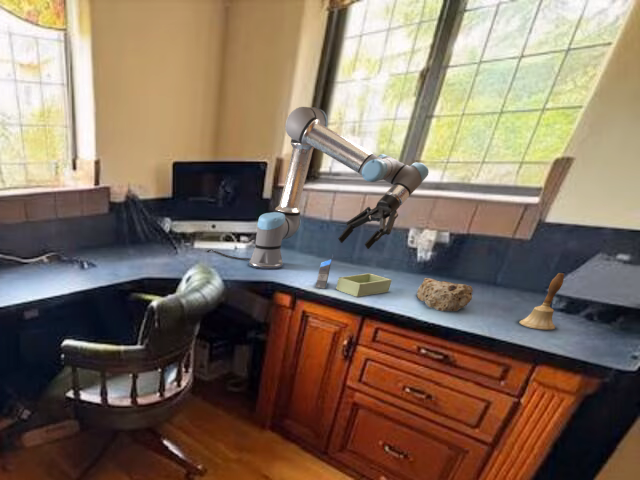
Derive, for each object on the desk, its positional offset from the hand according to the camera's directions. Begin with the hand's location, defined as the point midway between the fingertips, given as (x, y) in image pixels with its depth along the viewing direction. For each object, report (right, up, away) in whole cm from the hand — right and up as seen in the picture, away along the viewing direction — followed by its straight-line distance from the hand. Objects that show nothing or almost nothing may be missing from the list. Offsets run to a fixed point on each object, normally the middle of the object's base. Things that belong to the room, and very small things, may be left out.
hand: (352, 243), depth 167 cm
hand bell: (+36, -38, -38) cm, 65 cm away
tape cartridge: (-11, -16, +4) cm, 20 cm away
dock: (+2, -20, -3) cm, 20 cm away
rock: (+22, -28, -18) cm, 40 cm away
